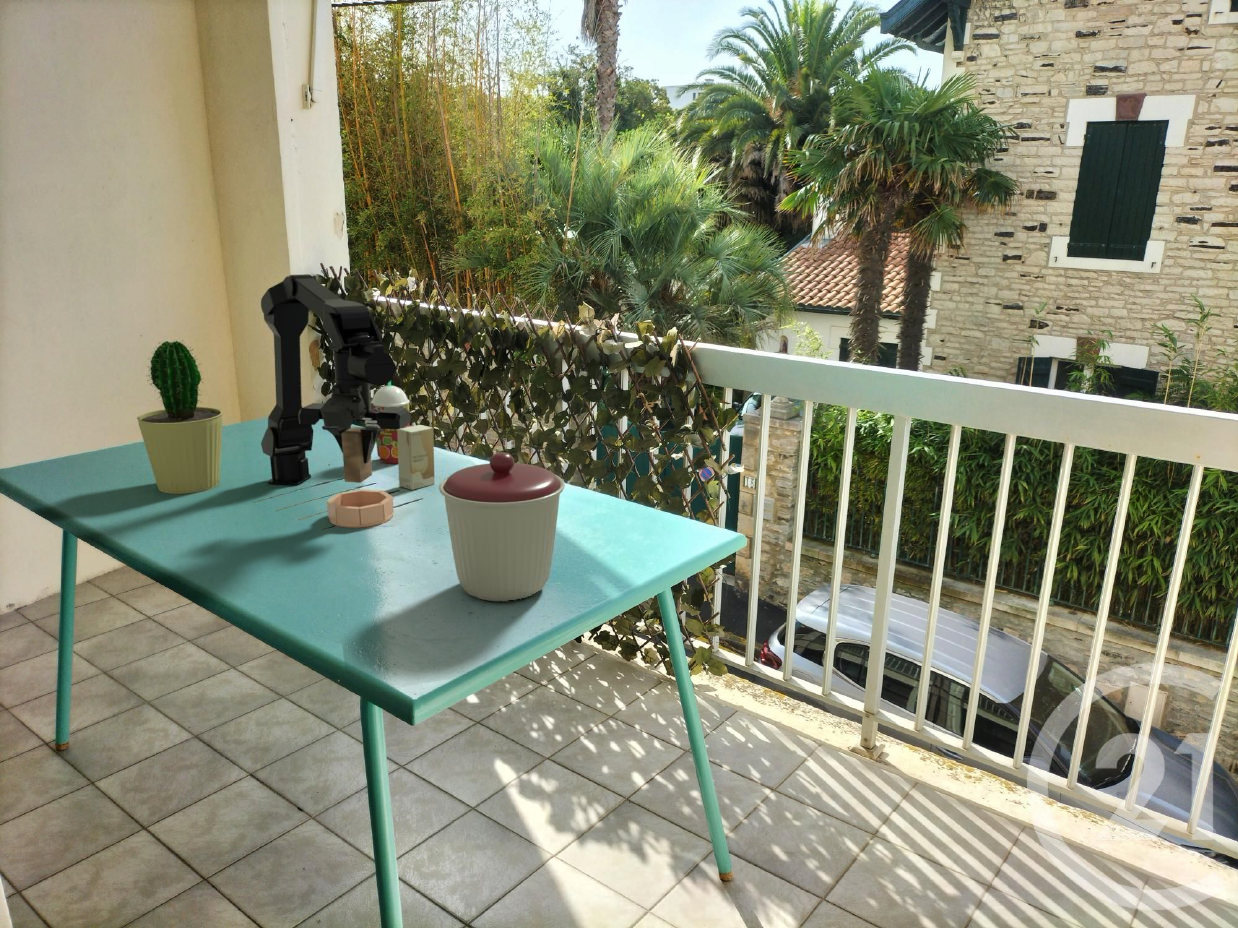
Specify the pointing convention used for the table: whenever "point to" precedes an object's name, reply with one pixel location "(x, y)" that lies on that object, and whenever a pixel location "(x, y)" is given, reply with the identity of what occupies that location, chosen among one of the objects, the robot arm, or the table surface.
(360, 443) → the tall tan cardboard carton
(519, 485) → the canister
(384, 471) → the table surface
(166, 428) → the potted cactus
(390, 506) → the peach octagonal dish
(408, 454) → the skincare box
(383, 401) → the smoothie
